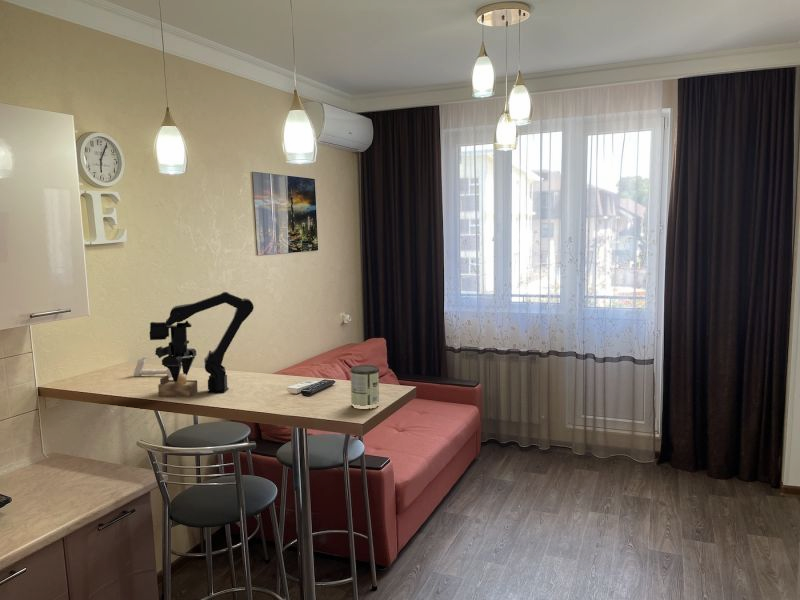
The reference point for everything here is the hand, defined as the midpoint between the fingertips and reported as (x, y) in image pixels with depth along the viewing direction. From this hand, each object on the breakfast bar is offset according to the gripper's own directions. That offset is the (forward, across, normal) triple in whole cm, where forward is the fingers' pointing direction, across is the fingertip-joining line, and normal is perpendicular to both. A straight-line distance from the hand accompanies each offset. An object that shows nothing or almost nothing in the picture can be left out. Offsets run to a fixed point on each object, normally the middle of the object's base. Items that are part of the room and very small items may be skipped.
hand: (180, 378), depth 234 cm
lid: (+3, 0, -1) cm, 3 cm away
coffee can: (+6, +11, +73) cm, 74 cm away
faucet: (+6, -27, -23) cm, 36 cm away
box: (+6, 0, -1) cm, 6 cm away
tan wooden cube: (+2, 0, 0) cm, 2 cm away
